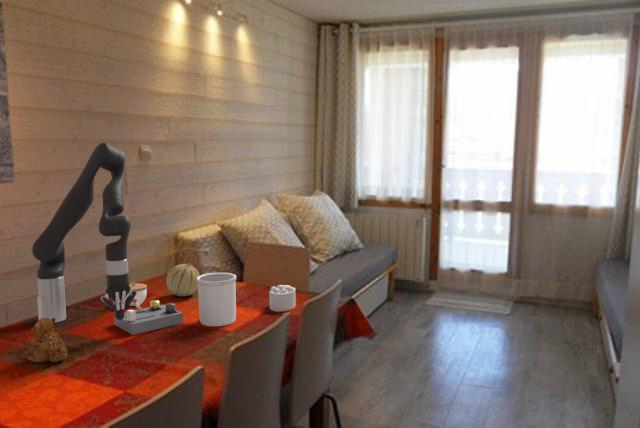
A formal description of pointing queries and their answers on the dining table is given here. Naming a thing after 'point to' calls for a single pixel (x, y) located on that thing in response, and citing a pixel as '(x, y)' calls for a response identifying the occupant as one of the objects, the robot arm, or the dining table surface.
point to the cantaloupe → (183, 280)
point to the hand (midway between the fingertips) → (119, 319)
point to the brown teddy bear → (47, 342)
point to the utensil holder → (217, 298)
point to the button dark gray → (170, 307)
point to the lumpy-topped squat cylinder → (282, 298)
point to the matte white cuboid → (131, 315)
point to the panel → (149, 320)
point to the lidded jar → (138, 292)
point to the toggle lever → (136, 304)
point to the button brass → (154, 305)
